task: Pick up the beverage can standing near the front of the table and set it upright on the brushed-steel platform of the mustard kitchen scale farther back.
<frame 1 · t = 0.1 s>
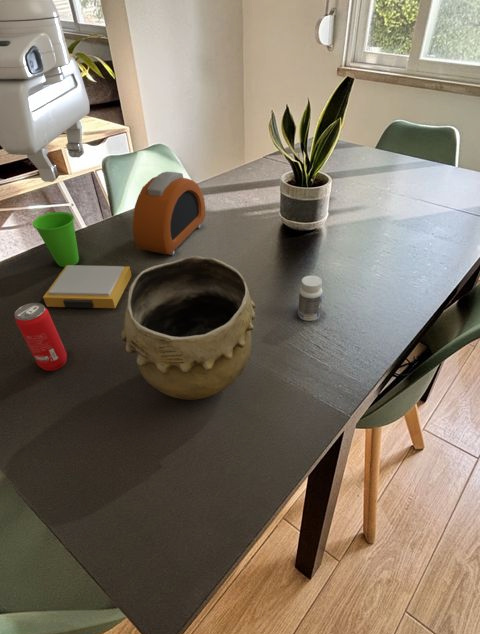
hand: (65, 167, 60), 34 cm above the table, tool pointing down, fingers open, 8 cm apart
clay pot: (199, 381, 76), on the table
beverage can: (54, 363, 79), on the table
cup: (68, 262, 106), on the table
scale: (91, 290, 96), on the table
alarm clock: (174, 239, 115), on the table
pill bottle: (308, 315, 90), on the table
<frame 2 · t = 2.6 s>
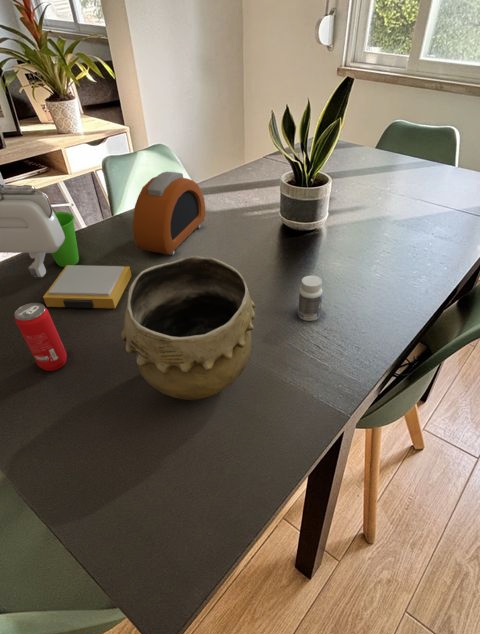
hand: (9, 274, 66), 19 cm above the table, tool pointing down, fingers open, 8 cm apart
nothing on the table moved.
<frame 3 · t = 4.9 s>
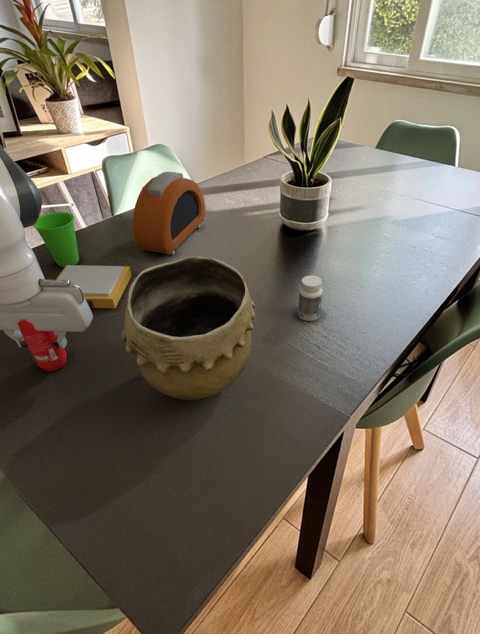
hand: (43, 345, 76), 5 cm above the table, tool pointing down, fingers closed on beverage can, 5 cm apart
beverage can: (54, 363, 79), on the table, touching gripper
everything else where it was.
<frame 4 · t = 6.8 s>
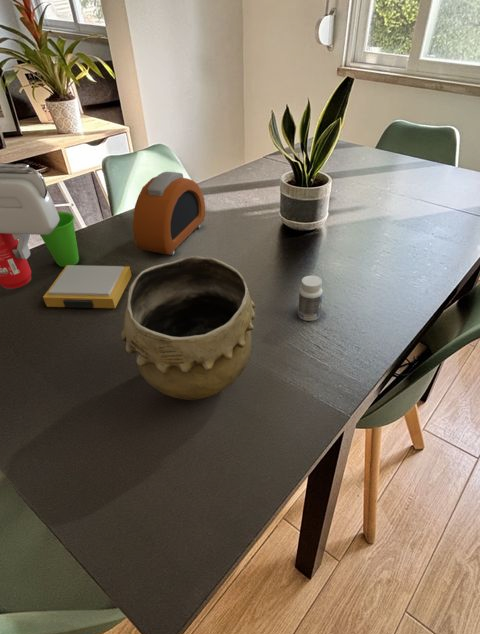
hand: (2, 256, 64), 22 cm above the table, tool pointing down, fingers closed on beverage can, 5 cm apart
beverage can: (16, 282, 68), point 17 cm above the table, touching gripper
everything else where it was.
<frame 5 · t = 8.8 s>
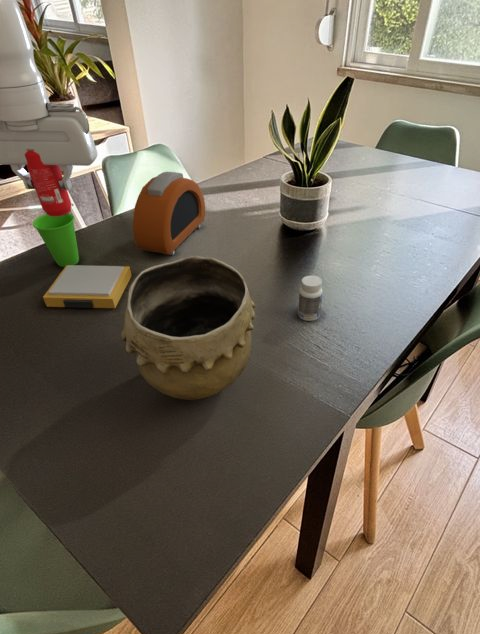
hand: (49, 188, 78), 24 cm above the table, tool pointing down, fingers closed on beverage can, 5 cm apart
beverage can: (59, 212, 82), point 19 cm above the table, touching gripper
everything else where it was.
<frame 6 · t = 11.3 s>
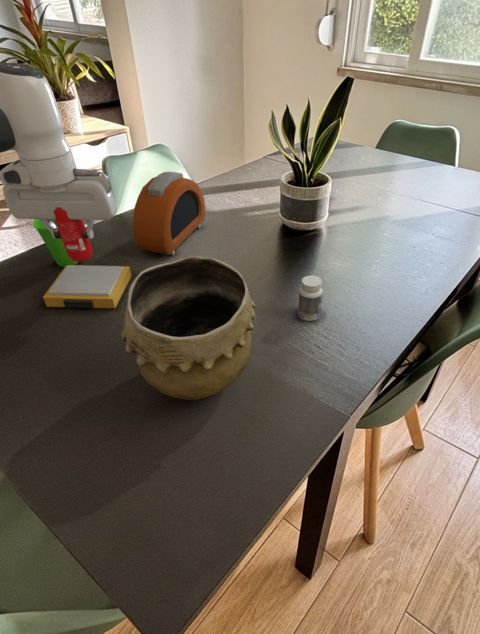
hand: (73, 237, 88), 13 cm above the table, tool pointing down, fingers closed on beverage can, 5 cm apart
beverage can: (81, 257, 91), point 8 cm above the table, touching gripper
everything else where it was.
when the fingers open (8 cm above the table, at t = 13.1 s): beverage can stays where it is, resting on scale.
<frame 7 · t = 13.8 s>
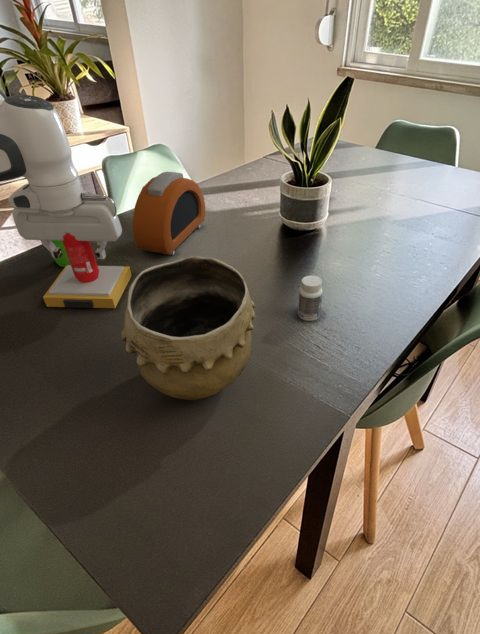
hand: (79, 257, 91), 8 cm above the table, tool pointing down, fingers open, 8 cm apart
beverage can: (88, 278, 95), point 3 cm above the table, touching scale
everything else where it was.
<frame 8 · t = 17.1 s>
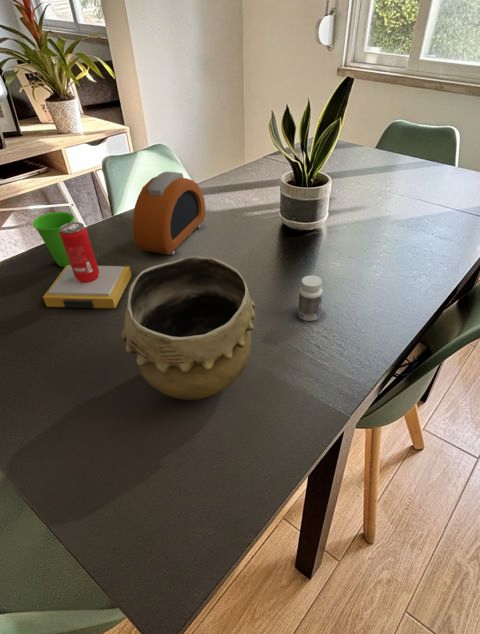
nothing on the table moved.
at the end: beverage can inside the target area on the scale (0.4 cm from its centre), point 2.9 cm above the scale's base; beverage can tilted 0°; beverage can touching scale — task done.
